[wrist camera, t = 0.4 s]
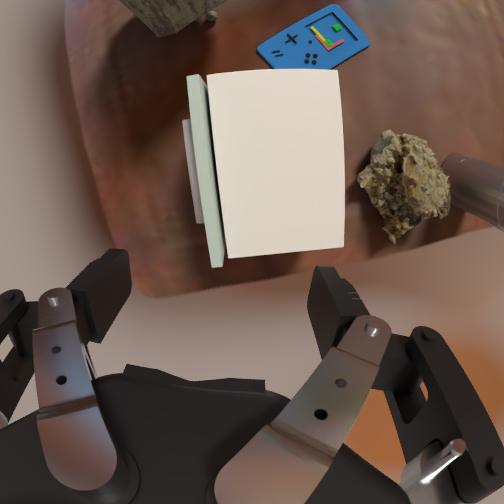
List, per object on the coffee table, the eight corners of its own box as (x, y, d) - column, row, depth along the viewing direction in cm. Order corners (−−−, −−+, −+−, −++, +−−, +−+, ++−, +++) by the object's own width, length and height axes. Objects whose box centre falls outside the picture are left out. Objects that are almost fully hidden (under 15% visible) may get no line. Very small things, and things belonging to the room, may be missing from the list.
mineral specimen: (330, 167, 36) (358, 180, 27) (389, 114, 33) (429, 113, 24) (382, 237, 41) (414, 264, 32) (434, 187, 38) (472, 203, 29)
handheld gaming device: (255, 47, 28) (336, 1, 25) (255, 49, 29) (333, 4, 26) (296, 92, 31) (373, 43, 28) (294, 93, 32) (369, 45, 29)
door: (213, 95, 31) (198, 74, 19) (228, 221, 38) (222, 266, 26) (196, 98, 31) (171, 79, 19) (211, 223, 38) (198, 268, 26)
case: (308, 88, 32) (337, 70, 21) (315, 213, 39) (343, 246, 28) (217, 93, 32) (206, 75, 21) (231, 221, 39) (228, 258, 28)
